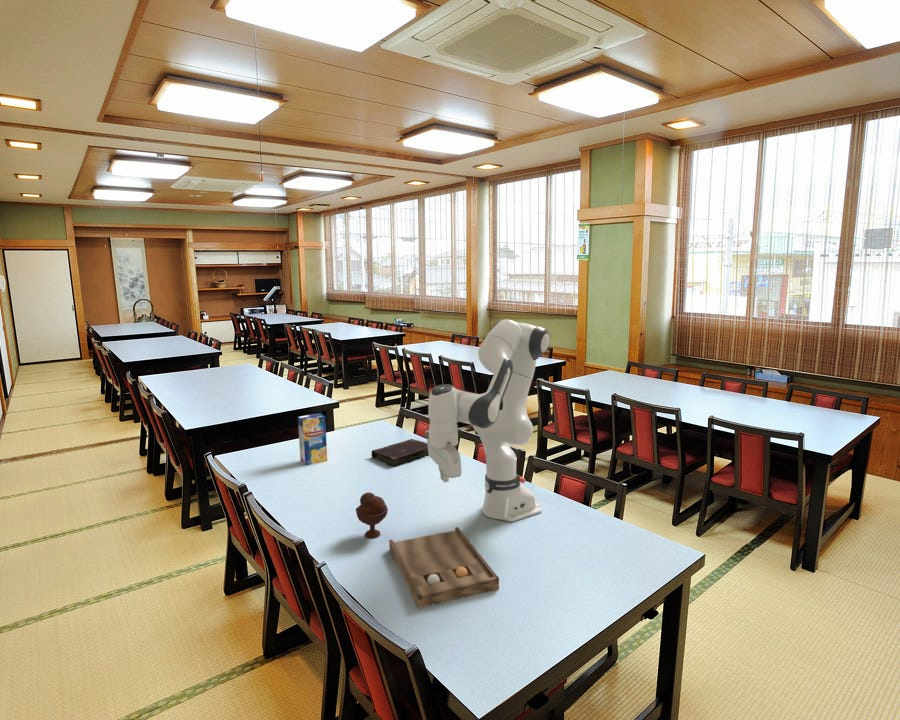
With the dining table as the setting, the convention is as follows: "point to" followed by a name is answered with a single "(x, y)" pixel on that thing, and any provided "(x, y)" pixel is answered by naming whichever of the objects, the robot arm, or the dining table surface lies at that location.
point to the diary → (401, 452)
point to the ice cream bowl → (371, 513)
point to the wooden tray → (442, 567)
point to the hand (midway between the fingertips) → (444, 480)
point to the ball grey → (433, 579)
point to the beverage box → (312, 439)
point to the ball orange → (461, 572)
